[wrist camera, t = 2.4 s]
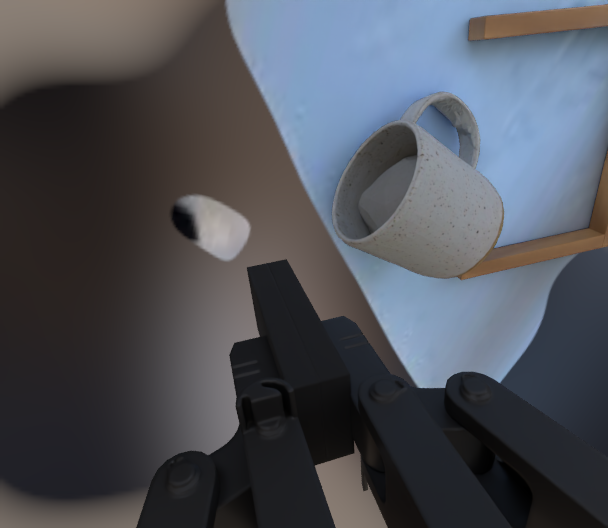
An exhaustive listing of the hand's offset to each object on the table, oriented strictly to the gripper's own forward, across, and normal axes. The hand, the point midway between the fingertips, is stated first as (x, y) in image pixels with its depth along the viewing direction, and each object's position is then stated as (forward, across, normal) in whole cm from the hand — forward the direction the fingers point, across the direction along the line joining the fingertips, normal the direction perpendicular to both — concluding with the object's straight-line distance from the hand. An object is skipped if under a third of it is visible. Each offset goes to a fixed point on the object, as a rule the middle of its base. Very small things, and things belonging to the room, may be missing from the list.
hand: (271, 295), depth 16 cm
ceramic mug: (+12, +11, 0) cm, 16 cm away
